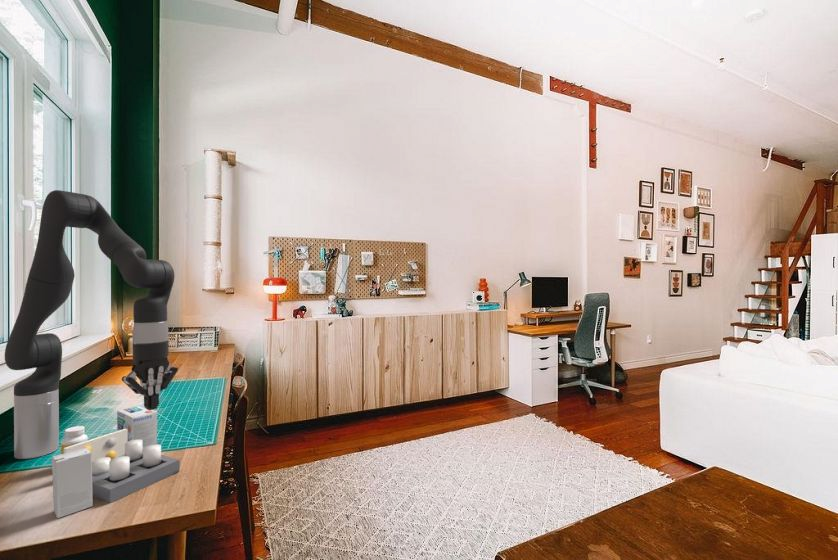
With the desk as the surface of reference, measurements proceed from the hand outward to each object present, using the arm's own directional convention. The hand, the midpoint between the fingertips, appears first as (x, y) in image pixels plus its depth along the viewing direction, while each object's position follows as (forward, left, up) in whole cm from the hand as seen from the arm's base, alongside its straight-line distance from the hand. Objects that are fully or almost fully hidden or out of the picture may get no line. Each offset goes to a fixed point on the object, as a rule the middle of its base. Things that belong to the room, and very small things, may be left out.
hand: (151, 409), depth 102 cm
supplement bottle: (-24, -5, -17) cm, 30 cm away
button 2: (0, -7, -14) cm, 15 cm away
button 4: (0, 0, -14) cm, 14 cm away
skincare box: (0, -17, -17) cm, 24 cm away
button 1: (-8, -7, -15) cm, 19 cm away
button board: (-4, -4, -17) cm, 18 cm away
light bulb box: (-21, +9, -17) cm, 28 cm away
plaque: (-16, -4, -17) cm, 24 cm away
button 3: (-8, 0, -14) cm, 16 cm away
